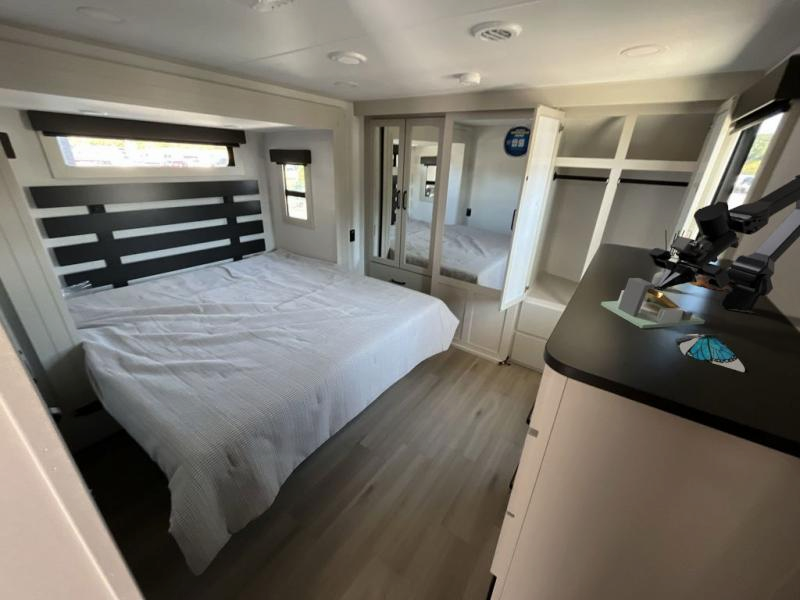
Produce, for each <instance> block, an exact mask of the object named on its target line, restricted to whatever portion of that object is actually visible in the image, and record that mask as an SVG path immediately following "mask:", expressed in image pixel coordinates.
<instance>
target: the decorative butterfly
mask: <svg viewBox="0 0 800 600" xmlns="http://www.w3.org/2000/svg"><path fill="white" fill-rule="evenodd" d="M719 335H720V336H721V334H720V333H719V334H709V333H695V334H694V333H693V334H692V333H691V334H686V337H681V338H680V337H679V338H676V339H675V340H674V341H675V343H677V344H679V348H680V351H681V353H682V354H683V355H684V356H687V355H689V356H688V357H690V356H692V357H691V358H693V357H694V359H698V360H701V361H704V362H708V361H709V362H710V363H712V364H715V365H718V366H722V367H725V368H728V369H731V370H736V371H738V372H741V373H745V370H746V369H745V366H744V365H743V363H742V362H741V360H740V359H739V358H738V357H737V356H736V354H734V352H732V351H731V349H729V348H728V347H727V345H726V343H725V342H723V341H722V340H719V339H717V338H716V337H717V336H719ZM688 336H689V337H688ZM724 338H727V337H725V336H724ZM729 339H730V340H731V339H732V338H730V337H729ZM733 340H735V341H736V339H735V338H734V339H733Z"/></svg>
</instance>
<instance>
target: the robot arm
mask: <svg viewBox="0 0 800 600" xmlns="http://www.w3.org/2000/svg"><path fill="white" fill-rule="evenodd" d="M793 204H795V208H794V209H793V210H792V211H791V212H790V214H789V215H788V216H787V217H786V218H784V220H783V221H782V222H781V223H780V224H779V225H778V227H776V228H775V229H774V231H773V232H771V234H770V235H769V236H768V237H767V238H766V239H765V240H764V241H763V243H761V244H760V245H759V246H758V248H757V249H756V250H755V251H754V252H753V253H751V254H749V255H744V254H742V255H739V256H738V257H737V258H736V259H735V260H734V262H733V263H731V264H730V265H729V267H728V268H726V267H723V266H721V265H718V264H715V263H716V262H717V261H719V258H718V257H719V256H720V255H721V254H722V253H724V252H725V251H726V250H727V249H728V248H733V249H737V248H738V247H739V245H740V244H739V240H740V237H738V235H737V234H738V233H739V234H743V235H749V236H750V235H753V234H755V233H757V232H759V231H760V230H762V228H765V226H767V225H768V223H769V220H770V218H771V217H773V216H774V215H775V214H777V213H779V212H781V211H782V210H784V209H785V208H787V207H789V206H791V205H793ZM693 219H694V221H695V223H696V226H697V229H698V231H699V234H701V235H703V237H702V238H700V239H699V240H695V239H692V238H689V237H684V236H682V235H681V236H682V237H681V236H679V235H678V237H677V236H676V237H675V240H674V242H673V241H672V243H671V244H670V245H669V248H670V249H671V248H672V249H674V251H675V250H676V252H675V255H676V256H677V257H676V256H675V255H674V256H671V255H672V253H671V254H670V250H666V249H663V248H660V247H654V248H653V249H651V250H650V251H649V252H648V256H649V258H650V259H651V261H652V264H653V265H654V266H656V267H658V268H661V269H666V271H665V273H664V275H663V277H662V279H661V280H660V282H659V284H658V286H657V287H656V288H658V289H659V290H665V289H667V288H671V287H672V288H673V287H675V286H679V285H684V284H688V283H689V282H694V283H695V282H697V279H698V278H699V277H700V276H706V277H709V278H711V279H710V280H708V281H709V285H711V286H713V287H716V288H719V289H722V288H724V287H725V286H726V285H728V288H727V290H724V291H722V294H721V295H720V297H719V299H718V300H717V303H718V304H719V306H721V307H722V306H723V307H724V308H725V309H724V308H723V307H722V308H723V309H724V310H726V309H738V310H745V311H746V310H750V311H751V310H752V311H753V309H754V307H755V305H756V304H757V301H758V300H759V298H760V296H762V297H766V296H768V295H769V294H770V293H771V291H773V289H774V287H773V283H772V282H773V281H772V279H771V278H772V277H773V276H774V274H775V263H776V261H777V260H778V259H779V258H781V256H782V255H783V254H784V253H785V252H786V251H788V249H789V248H790V247H791V246H792V245H793V244H794V243H795V242H796V241H797V240H799V238H800V174H797V175H795V176H794V177H793V178H792V179H791V181H789V182H787V183H785V184H783V185H782V186H780V187H779V188H776V189H775V190H773V191H772V192H769V193H768V194H767V195H765V196H763V197H762V198H760V199H758V200H756V201H753V202H750V203H744V204H740V205H737V206H735V207H733V208H731V209H729V204H728V202H726V201H719V200H717V202H716V203H714V204H709V205H706V206H703V207H701V208H699V209H697V210H696V211H695V212H694V214H693ZM689 284H690V283H689ZM750 313H752V312H750ZM753 313H754V314H755V311H753Z"/></svg>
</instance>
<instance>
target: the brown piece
mask: <svg viewBox="0 0 800 600" xmlns="http://www.w3.org/2000/svg"><path fill="white" fill-rule="evenodd" d="M710 279H711V278H709V277H706V276H700V277H699V278H698V279H697V282H695V283H694V282H689V284H690V285H692V286H695V287H699V288H702V287H703V289H706V288H707V290H711V289H716V290H715V291H718V290H723V289H727V288H728V285H726V286H725V287H724V288H722V289H719V288H716V287H713V286H711V285H709V281H708V280H710Z"/></svg>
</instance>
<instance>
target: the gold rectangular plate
mask: <svg viewBox="0 0 800 600" xmlns="http://www.w3.org/2000/svg"><path fill="white" fill-rule="evenodd" d="M645 297H646V298H647V299H649V301H651V302H653V303H655V304H658V305H660V306H662V307H664V308H681V307H680V306H679V305H678V304H676V303H675V302H674V301H672V299H670V298H669V297H667V296H666V295H665V294H664V293H662V292H659V291H657V290H655V289H654V288H650V289H648V291H647V293H646V296H645ZM684 312H686V311H685V310H684ZM684 312H683V314H684ZM683 314H682V316H683Z"/></svg>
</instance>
